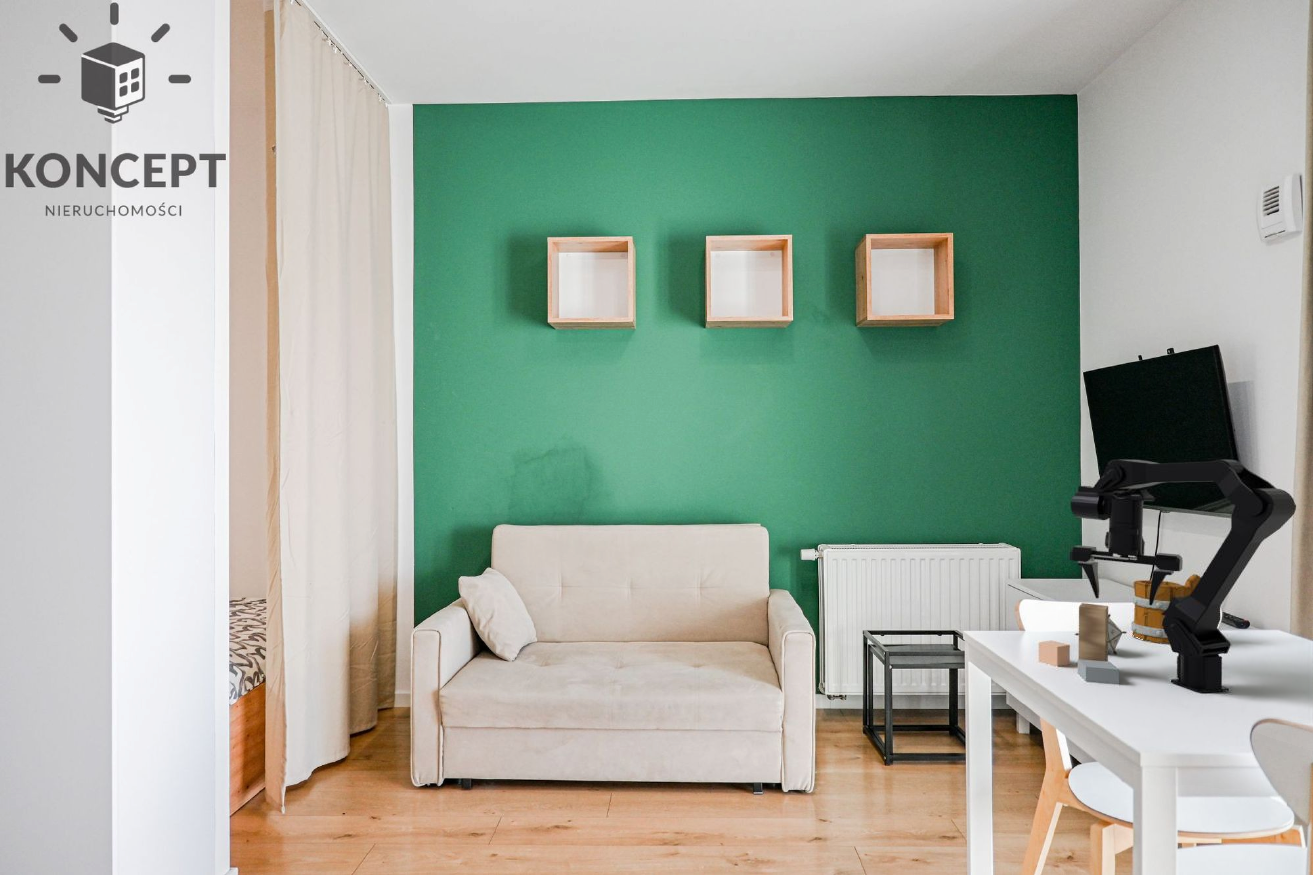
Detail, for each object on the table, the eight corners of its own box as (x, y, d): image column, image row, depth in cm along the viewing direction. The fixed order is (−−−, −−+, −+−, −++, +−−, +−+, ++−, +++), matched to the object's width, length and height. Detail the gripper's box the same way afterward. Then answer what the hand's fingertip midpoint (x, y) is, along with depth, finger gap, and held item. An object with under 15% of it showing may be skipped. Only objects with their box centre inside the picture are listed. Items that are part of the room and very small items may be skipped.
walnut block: (1107, 670, 153) (1108, 605, 153) (1105, 675, 149) (1105, 609, 150) (1081, 666, 156) (1082, 602, 156) (1078, 671, 152) (1078, 606, 152)
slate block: (1109, 677, 149) (1109, 661, 149) (1118, 685, 144) (1119, 669, 144) (1077, 674, 150) (1077, 659, 150) (1085, 683, 145) (1085, 666, 145)
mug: (1119, 633, 186) (1120, 569, 186) (1191, 634, 185) (1191, 571, 186) (1146, 644, 175) (1146, 576, 175) (1222, 646, 174) (1222, 578, 175)
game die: (1102, 667, 169) (1121, 628, 171) (1120, 663, 161) (1140, 622, 163) (1062, 643, 171) (1081, 605, 174) (1078, 638, 163) (1098, 598, 166)
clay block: (1069, 664, 157) (1069, 644, 157) (1057, 667, 155) (1057, 646, 155) (1051, 660, 160) (1051, 640, 161) (1038, 662, 158) (1038, 642, 159)
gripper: (1186, 524, 156) (1184, 603, 156) (1081, 517, 168) (1079, 590, 168) (1180, 527, 148) (1178, 610, 147) (1070, 519, 159) (1068, 596, 159)
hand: (1123, 601), depth 156 cm, fingers open, 9 cm apart
